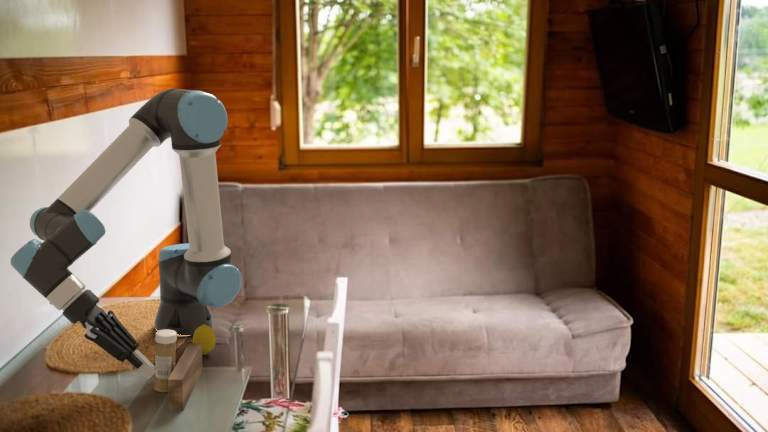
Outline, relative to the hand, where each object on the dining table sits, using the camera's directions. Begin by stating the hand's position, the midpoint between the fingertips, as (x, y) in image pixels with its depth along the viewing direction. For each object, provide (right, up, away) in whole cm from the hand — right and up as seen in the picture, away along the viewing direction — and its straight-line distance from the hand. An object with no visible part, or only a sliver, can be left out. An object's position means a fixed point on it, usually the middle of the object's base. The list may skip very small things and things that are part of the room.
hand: (152, 374), depth 173 cm
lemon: (+7, 0, +21) cm, 22 cm away
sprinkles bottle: (+2, -4, +1) cm, 5 cm away
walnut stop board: (+7, -4, +1) cm, 8 cm away
